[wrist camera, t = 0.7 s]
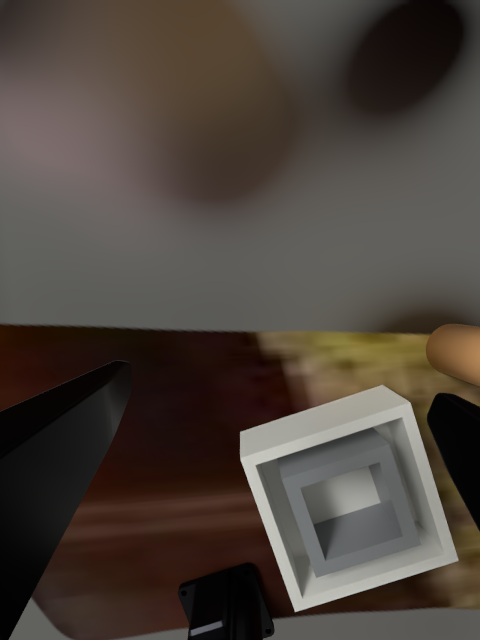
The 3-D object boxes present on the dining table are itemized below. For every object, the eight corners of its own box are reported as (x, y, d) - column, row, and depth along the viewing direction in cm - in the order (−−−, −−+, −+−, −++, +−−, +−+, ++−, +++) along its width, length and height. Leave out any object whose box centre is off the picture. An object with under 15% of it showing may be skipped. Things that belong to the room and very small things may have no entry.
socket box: (424, 519, 25) (460, 563, 21) (286, 562, 26) (295, 614, 21) (382, 384, 24) (411, 403, 20) (240, 431, 25) (240, 459, 21)
